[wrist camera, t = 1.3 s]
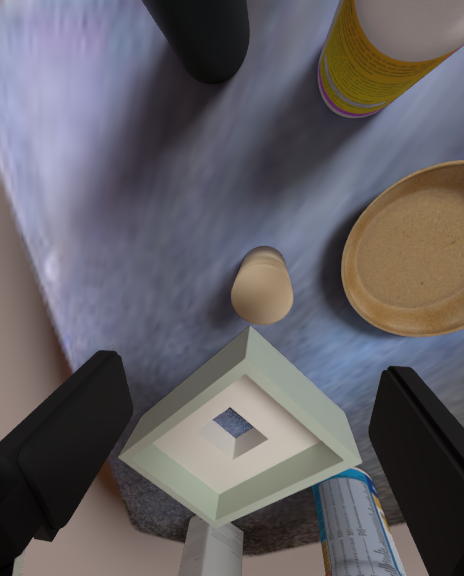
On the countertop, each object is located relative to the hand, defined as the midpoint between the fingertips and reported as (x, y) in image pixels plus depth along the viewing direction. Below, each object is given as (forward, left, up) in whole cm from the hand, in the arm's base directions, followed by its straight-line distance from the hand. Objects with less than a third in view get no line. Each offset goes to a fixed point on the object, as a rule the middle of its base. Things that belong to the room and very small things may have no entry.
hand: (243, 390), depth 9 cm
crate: (-12, +17, -17) cm, 27 cm away
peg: (0, 0, -17) cm, 17 cm away
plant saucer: (-9, -11, -17) cm, 23 cm away
